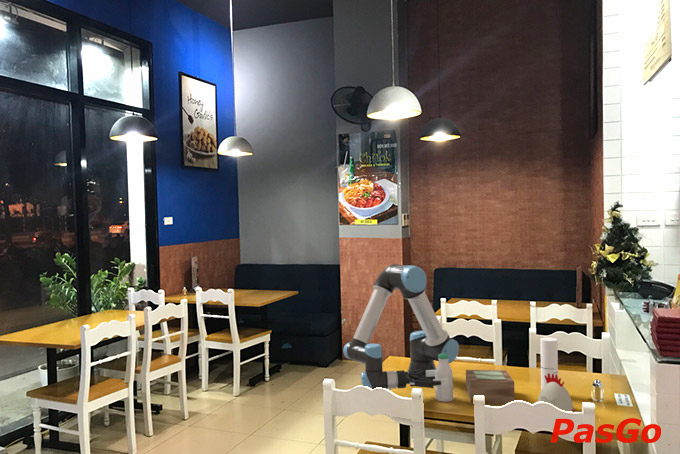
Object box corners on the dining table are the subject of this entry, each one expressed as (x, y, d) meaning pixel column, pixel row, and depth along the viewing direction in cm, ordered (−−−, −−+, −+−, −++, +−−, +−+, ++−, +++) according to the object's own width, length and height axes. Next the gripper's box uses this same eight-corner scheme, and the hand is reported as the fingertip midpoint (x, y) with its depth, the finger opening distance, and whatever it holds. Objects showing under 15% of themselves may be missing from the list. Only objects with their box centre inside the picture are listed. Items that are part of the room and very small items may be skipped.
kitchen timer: (547, 402, 235) (547, 367, 235) (579, 410, 225) (578, 374, 224) (531, 410, 226) (530, 374, 225) (563, 419, 215) (562, 381, 215)
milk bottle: (453, 402, 237) (452, 356, 237) (435, 401, 239) (434, 356, 238) (453, 396, 245) (452, 352, 244) (435, 396, 246) (434, 351, 246)
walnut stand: (466, 390, 252) (465, 369, 252) (506, 390, 250) (505, 369, 250) (471, 404, 234) (471, 381, 234) (514, 404, 233) (514, 381, 232)
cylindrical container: (539, 392, 247) (538, 337, 247) (554, 392, 247) (554, 337, 247) (544, 397, 240) (543, 341, 240) (560, 397, 240) (559, 340, 239)
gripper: (391, 379, 252) (437, 377, 253) (401, 397, 227) (451, 395, 229) (391, 363, 252) (436, 361, 253) (401, 379, 227) (451, 377, 228)
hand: (444, 377), depth 241 cm, fingers open, 13 cm apart
